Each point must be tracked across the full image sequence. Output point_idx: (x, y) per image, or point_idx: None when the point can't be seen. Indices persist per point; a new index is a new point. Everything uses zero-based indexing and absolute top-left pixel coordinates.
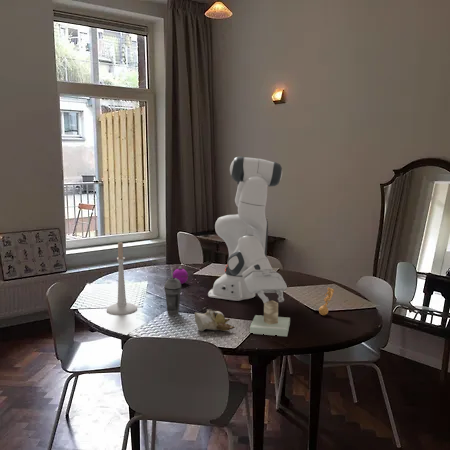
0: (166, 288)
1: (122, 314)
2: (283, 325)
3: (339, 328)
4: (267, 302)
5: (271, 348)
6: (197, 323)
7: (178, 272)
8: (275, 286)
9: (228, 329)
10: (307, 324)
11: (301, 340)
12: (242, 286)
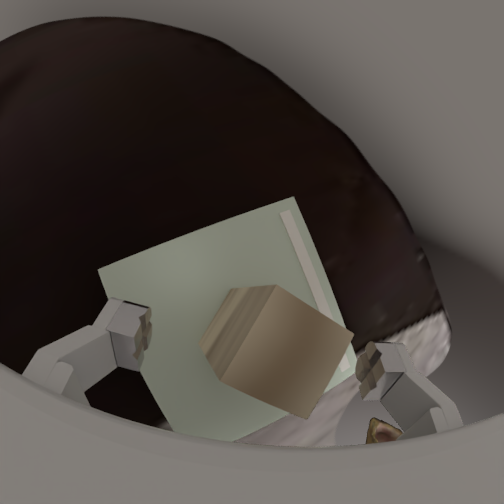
0: None
1: None
2: (246, 242)
3: (75, 74)
4: (318, 379)
5: (398, 213)
6: None
7: None
8: (160, 468)
9: (385, 423)
10: (72, 190)
11: (280, 141)
12: None
